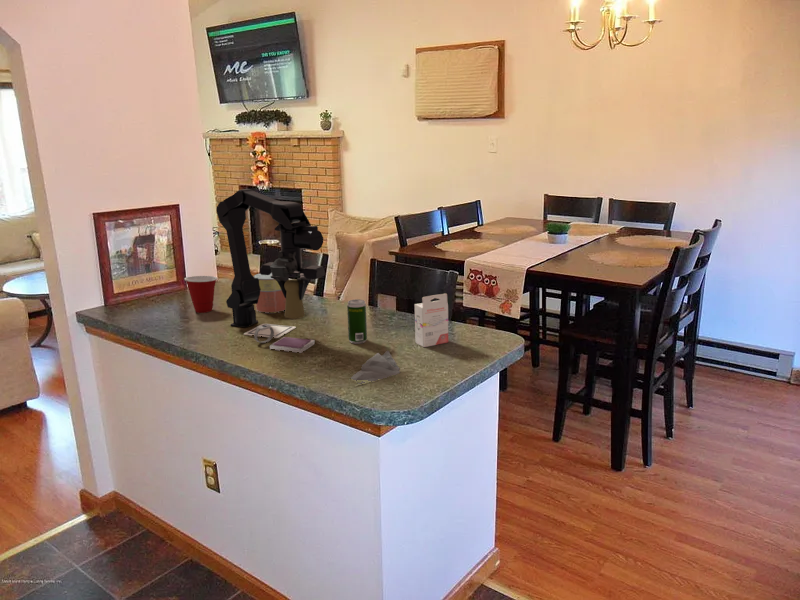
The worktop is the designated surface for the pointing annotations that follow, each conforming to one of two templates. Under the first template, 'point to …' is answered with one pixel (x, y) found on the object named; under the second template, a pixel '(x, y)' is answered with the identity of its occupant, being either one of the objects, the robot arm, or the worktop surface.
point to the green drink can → (357, 321)
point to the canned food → (270, 295)
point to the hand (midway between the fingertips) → (293, 298)
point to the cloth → (377, 368)
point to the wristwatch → (263, 329)
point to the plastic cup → (201, 292)
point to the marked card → (278, 331)
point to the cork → (293, 300)
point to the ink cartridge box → (431, 321)
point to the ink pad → (292, 344)
